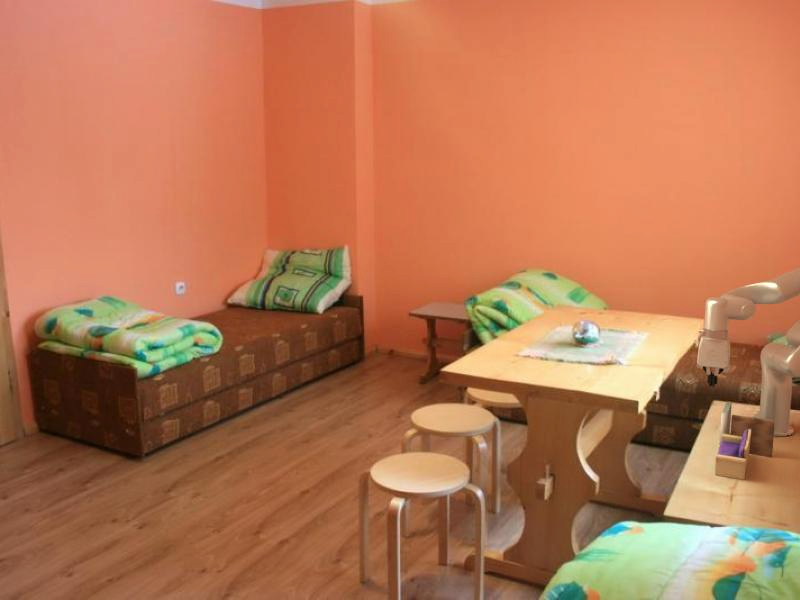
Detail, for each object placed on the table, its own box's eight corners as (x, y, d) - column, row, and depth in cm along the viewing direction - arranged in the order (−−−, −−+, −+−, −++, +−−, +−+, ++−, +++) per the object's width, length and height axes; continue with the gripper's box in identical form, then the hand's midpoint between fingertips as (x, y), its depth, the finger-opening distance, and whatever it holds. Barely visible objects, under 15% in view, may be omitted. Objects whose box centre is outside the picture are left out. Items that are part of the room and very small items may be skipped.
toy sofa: (720, 452, 236) (722, 422, 234) (749, 457, 232) (751, 427, 230) (713, 476, 218) (715, 444, 216) (744, 481, 214) (747, 449, 212)
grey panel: (719, 445, 241) (721, 414, 239) (724, 431, 254) (726, 401, 252) (725, 446, 240) (727, 415, 238) (730, 432, 253) (732, 402, 251)
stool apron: (729, 450, 237) (731, 416, 235) (730, 449, 238) (732, 414, 236) (771, 457, 231) (774, 422, 229) (772, 455, 232) (774, 420, 230)
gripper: (690, 333, 245) (687, 385, 248) (738, 338, 237) (734, 391, 240) (693, 329, 251) (690, 380, 254) (740, 334, 244) (736, 385, 247)
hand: (712, 385), depth 247 cm, fingers closed
